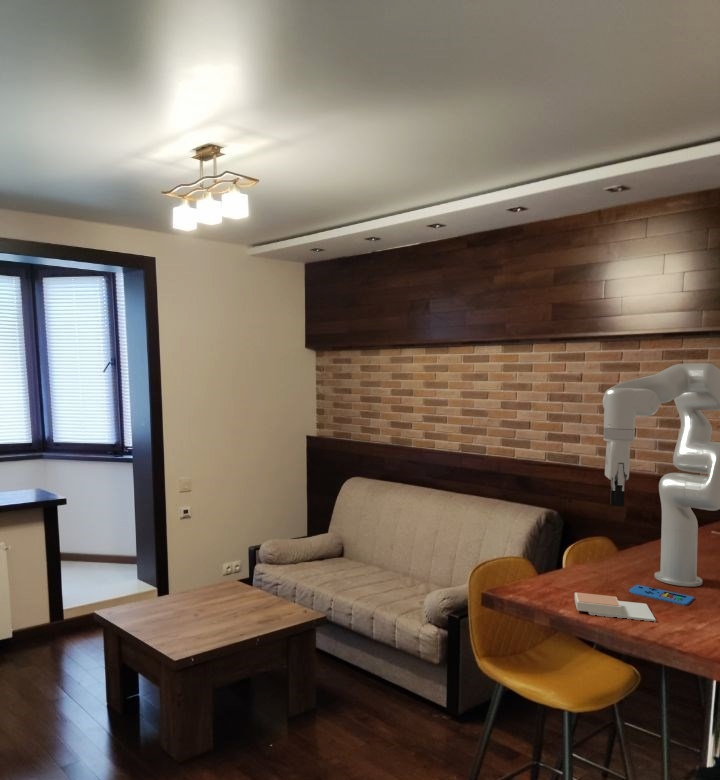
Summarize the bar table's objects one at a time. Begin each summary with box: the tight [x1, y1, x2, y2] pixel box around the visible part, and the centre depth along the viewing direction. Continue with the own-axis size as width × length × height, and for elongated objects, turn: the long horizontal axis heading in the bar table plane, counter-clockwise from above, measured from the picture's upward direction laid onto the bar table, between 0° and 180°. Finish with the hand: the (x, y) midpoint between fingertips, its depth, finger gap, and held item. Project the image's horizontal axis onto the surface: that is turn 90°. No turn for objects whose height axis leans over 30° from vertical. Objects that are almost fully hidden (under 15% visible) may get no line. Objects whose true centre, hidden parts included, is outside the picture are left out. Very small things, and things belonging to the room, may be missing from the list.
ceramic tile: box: [574, 592, 621, 615], centre depth 158 cm, size 2×10×8 cm
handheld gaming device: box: [628, 584, 695, 606], centre depth 171 cm, size 8×1×15 cm
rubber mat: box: [587, 600, 657, 623], centre depth 158 cm, size 12×15×1 cm
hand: (617, 505), depth 165 cm, fingers closed
